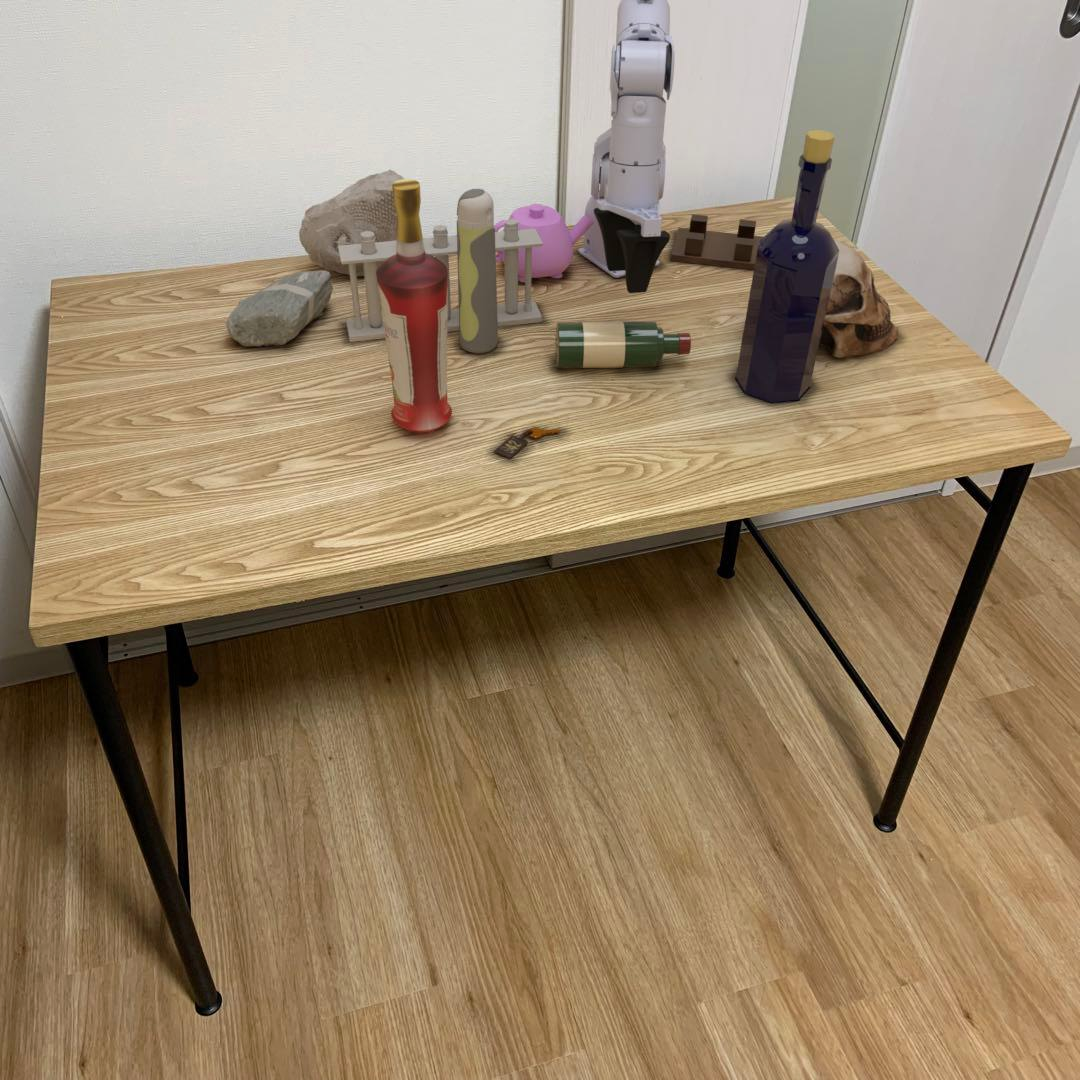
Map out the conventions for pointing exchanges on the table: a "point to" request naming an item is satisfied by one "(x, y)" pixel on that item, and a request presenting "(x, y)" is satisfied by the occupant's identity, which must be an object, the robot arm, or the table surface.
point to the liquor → (415, 320)
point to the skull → (855, 309)
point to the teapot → (546, 240)
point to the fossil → (350, 221)
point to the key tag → (520, 441)
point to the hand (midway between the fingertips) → (626, 280)
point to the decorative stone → (280, 309)
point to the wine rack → (716, 245)
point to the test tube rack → (441, 249)
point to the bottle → (790, 290)
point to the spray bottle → (477, 272)
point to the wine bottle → (615, 344)
